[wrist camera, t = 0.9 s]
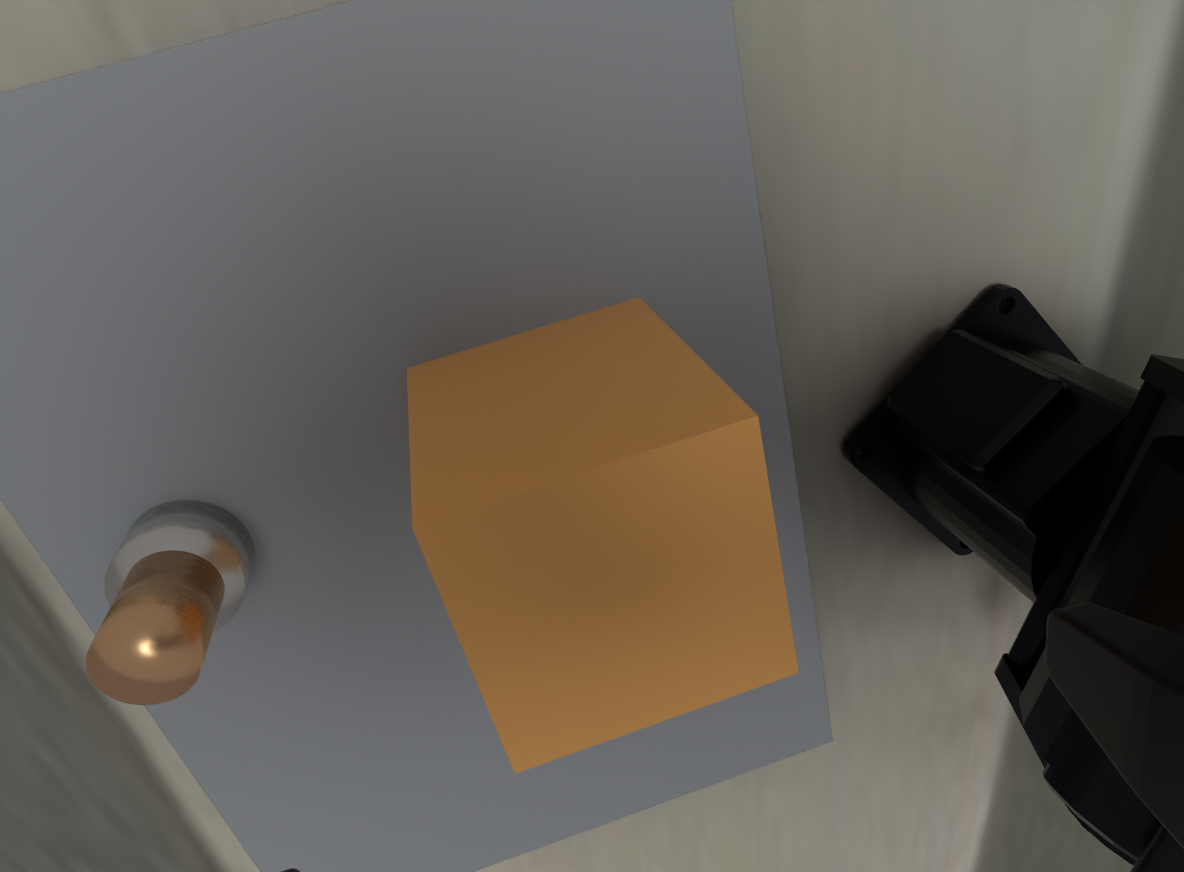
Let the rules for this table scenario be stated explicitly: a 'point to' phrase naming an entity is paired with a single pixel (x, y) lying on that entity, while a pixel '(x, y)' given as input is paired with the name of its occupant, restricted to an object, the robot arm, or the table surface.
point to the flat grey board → (373, 376)
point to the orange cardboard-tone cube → (596, 529)
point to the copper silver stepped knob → (168, 600)
